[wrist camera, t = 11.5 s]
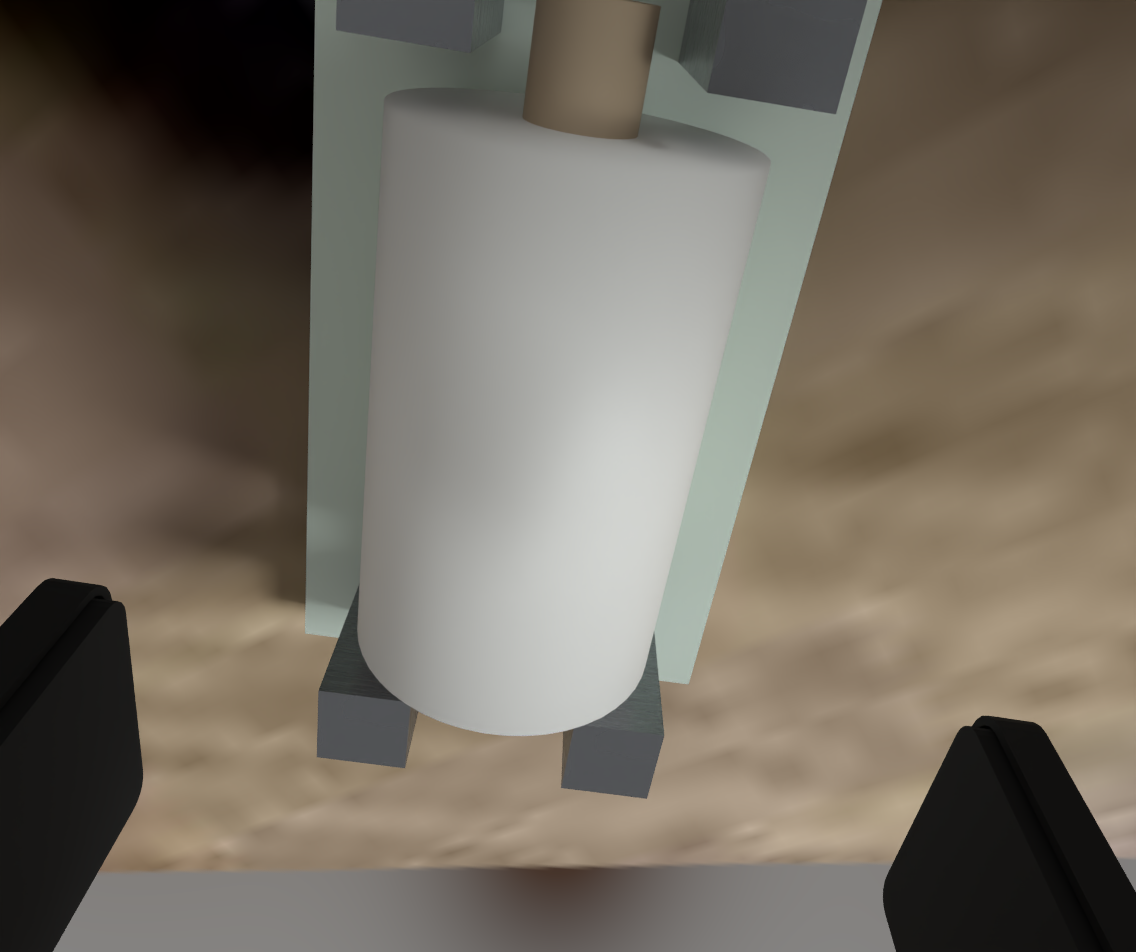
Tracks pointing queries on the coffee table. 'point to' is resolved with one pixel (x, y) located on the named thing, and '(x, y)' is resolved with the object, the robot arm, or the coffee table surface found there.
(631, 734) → the roll holder
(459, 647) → the paper roll
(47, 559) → the coffee table surface
